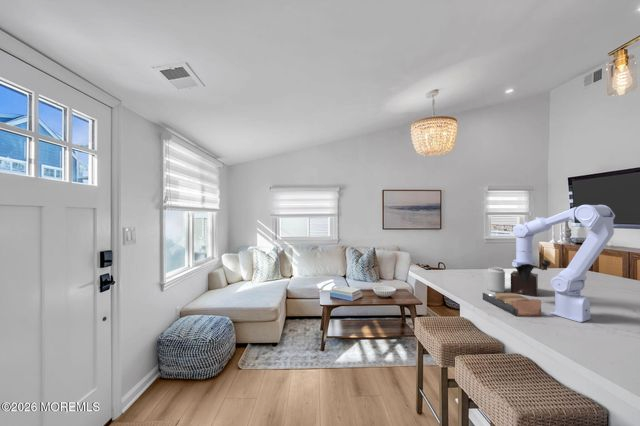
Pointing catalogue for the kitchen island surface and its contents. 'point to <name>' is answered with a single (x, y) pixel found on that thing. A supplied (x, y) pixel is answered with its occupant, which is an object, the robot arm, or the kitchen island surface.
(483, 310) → the kitchen island surface
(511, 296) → the tan flat block
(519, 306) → the roller bed
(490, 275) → the can
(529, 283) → the manual coffee grinder
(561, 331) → the kitchen island surface
